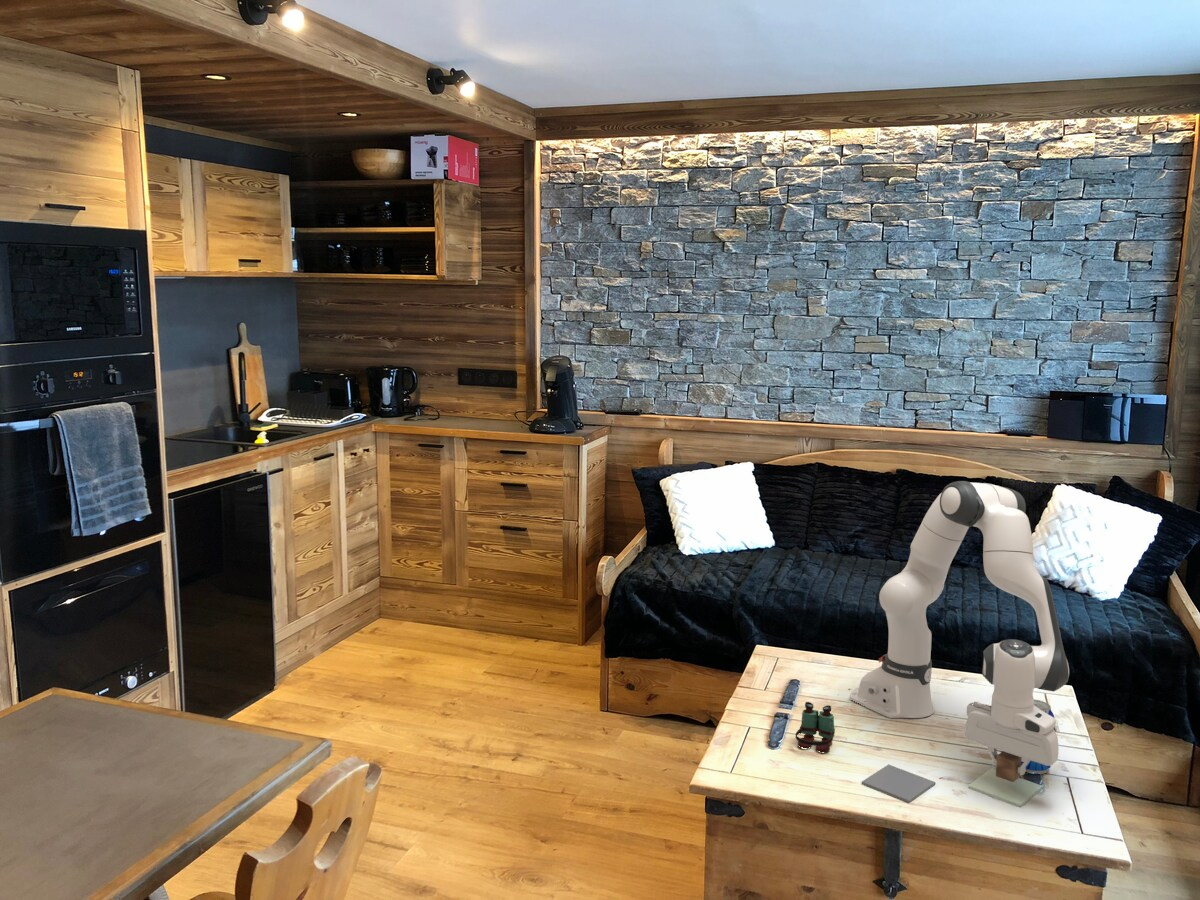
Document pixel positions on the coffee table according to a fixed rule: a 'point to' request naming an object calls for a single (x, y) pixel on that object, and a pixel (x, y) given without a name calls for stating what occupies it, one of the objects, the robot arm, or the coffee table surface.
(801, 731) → the binoculars
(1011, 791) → the sage tile
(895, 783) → the slate tile
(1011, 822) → the coffee table surface
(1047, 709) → the beer can
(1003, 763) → the walnut block
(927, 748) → the coffee table surface
